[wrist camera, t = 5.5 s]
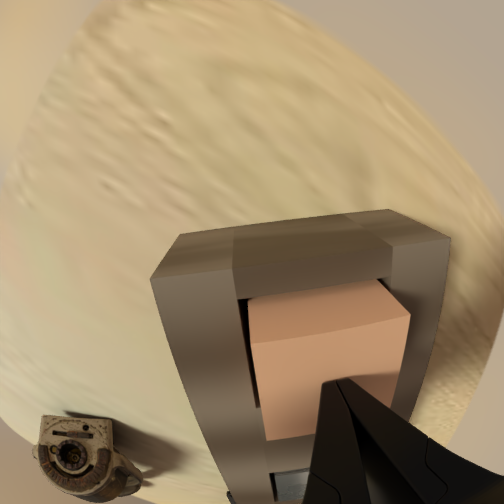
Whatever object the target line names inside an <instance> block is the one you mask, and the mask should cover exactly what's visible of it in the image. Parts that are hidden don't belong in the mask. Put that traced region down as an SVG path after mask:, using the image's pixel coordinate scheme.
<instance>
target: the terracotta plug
mask: <svg viewBox="0 0 504 504" xmlns="http://www.w3.org/2000/svg"><path fill="white" fill-rule="evenodd" d="M248 313H249V327H250V342H251V349H252V356H253V362H254V368H255V374H256V380H257V387H258V393H259V399H260V405H261V411H262V416H263V422H264V428H265V434H266V440H267V441H269V440H277V439H285V438H291V437H298V436H304V435H309V434H315V431H316V424H317V417H318V409H319V401H320V392H321V385H322V383H324V382H329V381H336V380H339V379H344V378H350V379H351V380H353V381H354V382H355V383H357V384H358V385H359V386H360V387H362V388H363V389H364V390H366V391H367V392H368V393H370V394H371V395H372V396H374V397H375V398H376V399H378V400H379V401H380V402H382V403H383V404H384V405H386V406H387V407H388V408H390V406H391V403H392V399H393V396H394V392H395V388H396V384H397V380H398V376H399V372H400V368H401V363H402V359H403V354H404V349H405V344H406V339H407V334H408V328H409V322H410V316H411V314H410V313H409V312H408V311H407V310H406V309H405V308H404V307H403V306H402V305H401V304H400V303H399V302H398V301H397V300H396V299H395V298H394V297H393V295H392V294H391V293H390V292H389V291H388V290H387V289H386V288H385V287H384V286H383V285H382V284H381V283H380V282H379V281H378V280H377V279H372V280H366V281H360V282H354V283H348V284H342V285H336V286H330V287H324V288H317V289H310V290H304V291H297V292H290V293H283V294H276V295H268V296H261V297H253V298H248Z"/></svg>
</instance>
